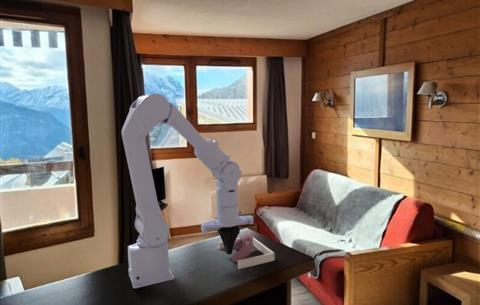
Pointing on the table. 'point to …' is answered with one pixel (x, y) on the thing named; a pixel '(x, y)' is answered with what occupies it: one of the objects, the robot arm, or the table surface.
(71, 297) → the table surface
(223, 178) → the robot arm
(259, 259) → the dock
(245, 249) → the video game controller
